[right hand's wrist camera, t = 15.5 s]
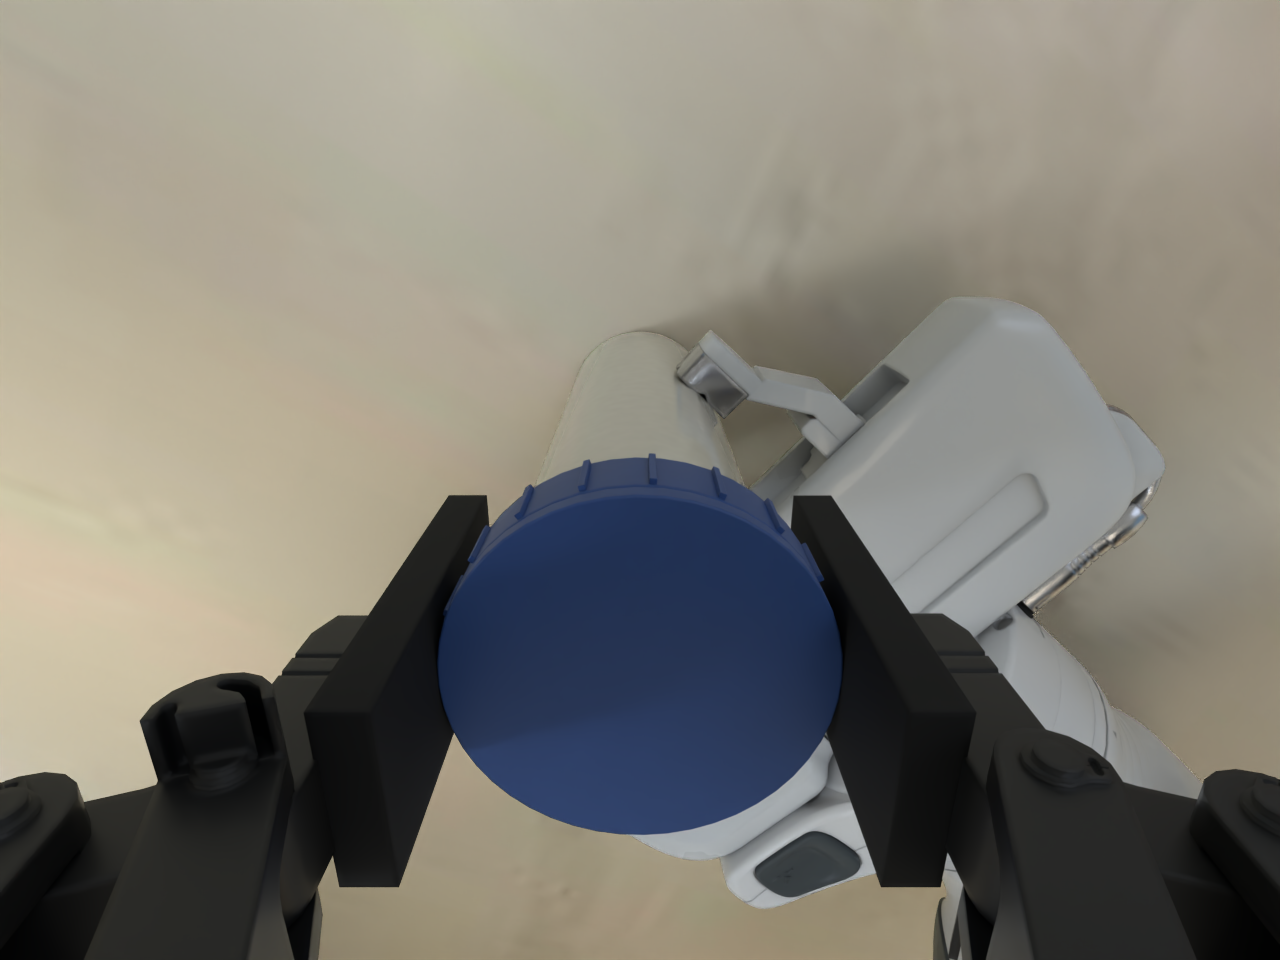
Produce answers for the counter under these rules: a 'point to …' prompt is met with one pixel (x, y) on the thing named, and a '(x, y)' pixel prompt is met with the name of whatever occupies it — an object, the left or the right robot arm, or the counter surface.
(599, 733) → the lid
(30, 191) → the counter surface
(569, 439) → the jar
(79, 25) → the counter surface
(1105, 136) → the counter surface
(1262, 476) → the counter surface
